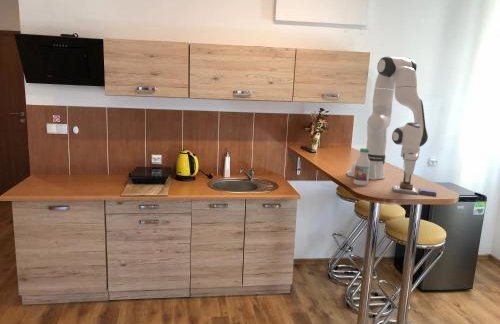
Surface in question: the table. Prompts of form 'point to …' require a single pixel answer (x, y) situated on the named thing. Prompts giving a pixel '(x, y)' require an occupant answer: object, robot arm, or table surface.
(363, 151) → the milk bottle
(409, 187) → the stamp
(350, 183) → the table surface
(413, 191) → the board
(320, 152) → the table surface
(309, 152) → the table surface
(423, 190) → the ink pad
